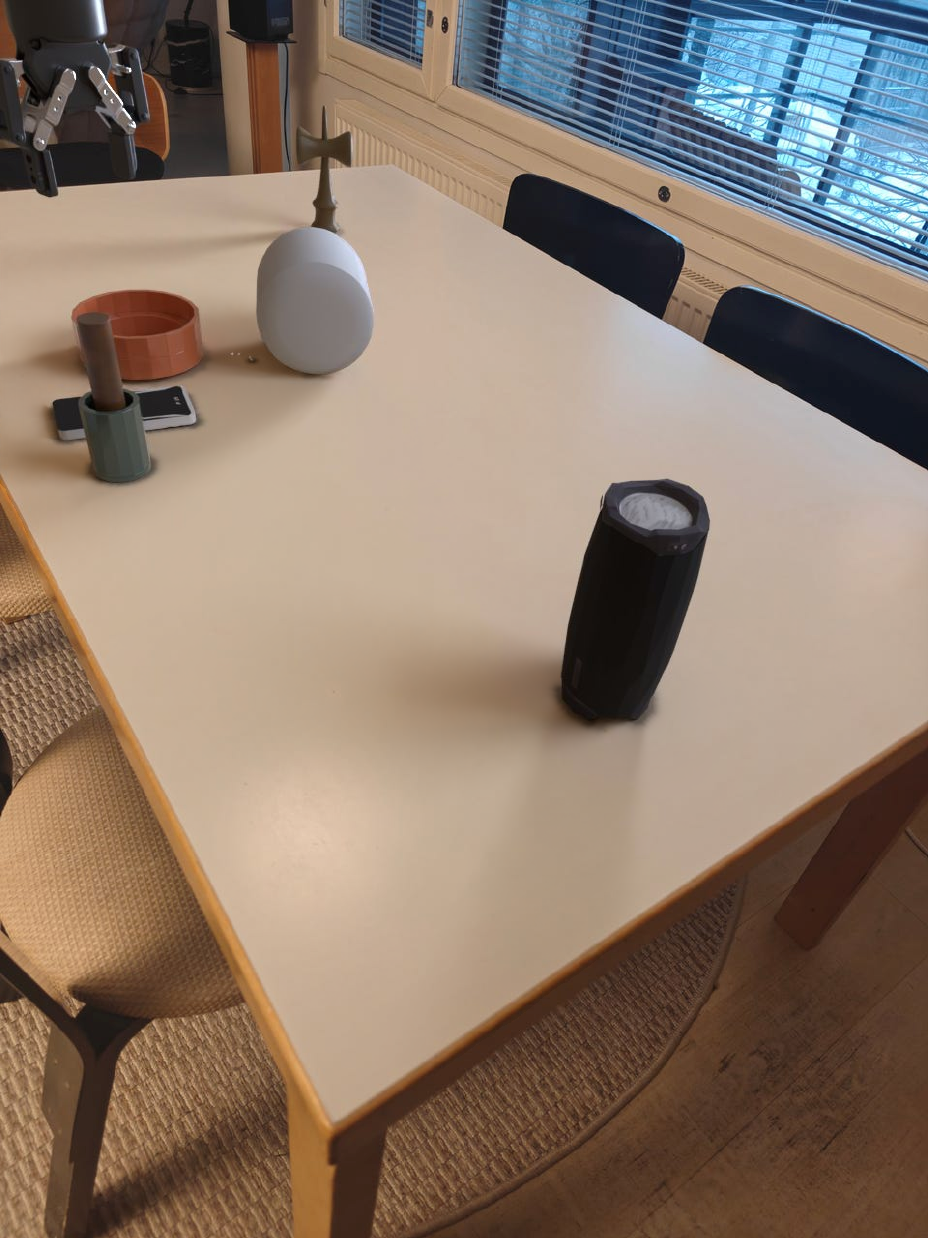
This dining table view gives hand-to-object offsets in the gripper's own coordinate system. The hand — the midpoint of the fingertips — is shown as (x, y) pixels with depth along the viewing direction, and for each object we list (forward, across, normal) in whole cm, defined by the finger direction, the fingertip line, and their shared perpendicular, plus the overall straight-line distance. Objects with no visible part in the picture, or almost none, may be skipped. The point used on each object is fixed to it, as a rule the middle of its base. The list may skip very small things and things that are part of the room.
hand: (87, 185), depth 78 cm
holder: (+27, +4, +2) cm, 28 cm away
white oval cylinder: (+27, -34, -5) cm, 44 cm away
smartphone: (+27, -4, -6) cm, 28 cm away
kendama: (+27, -72, -32) cm, 84 cm away
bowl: (+27, -16, -16) cm, 36 cm away
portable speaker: (+28, +2, +59) cm, 65 cm away
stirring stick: (+27, +4, +2) cm, 27 cm away
